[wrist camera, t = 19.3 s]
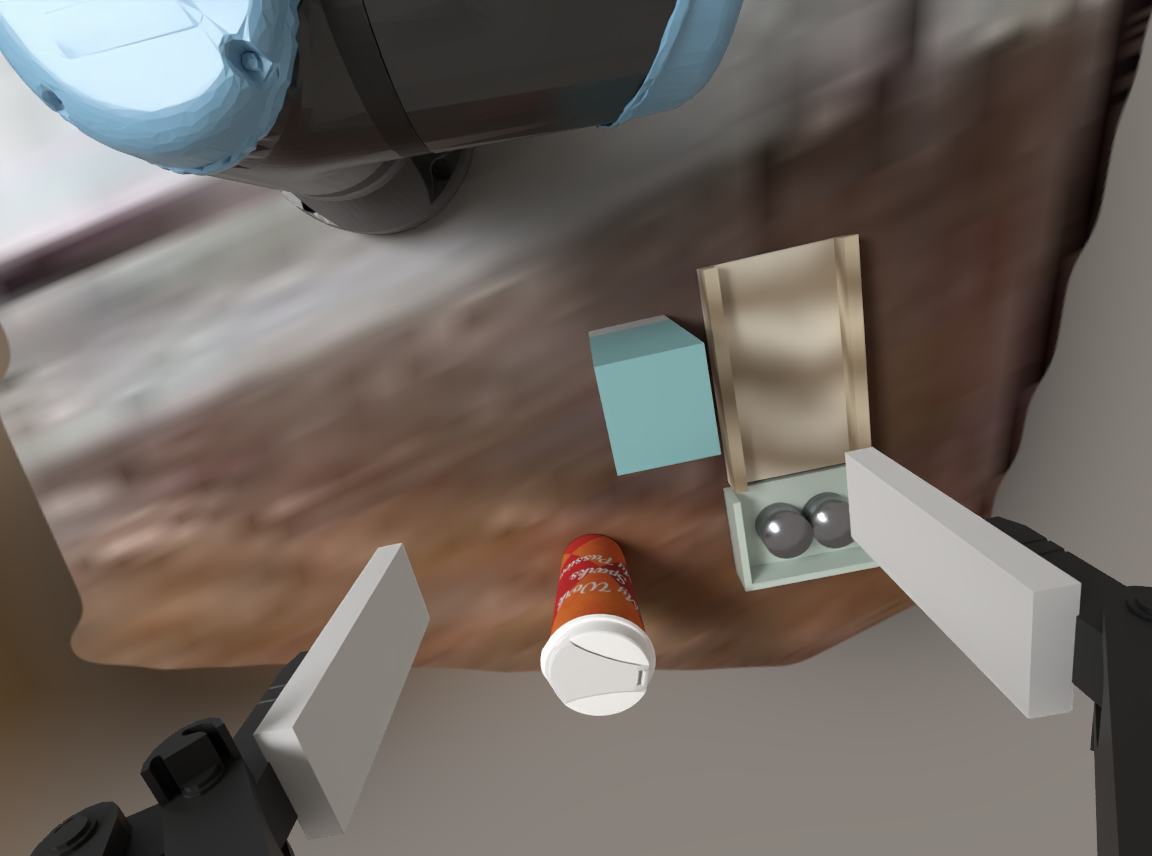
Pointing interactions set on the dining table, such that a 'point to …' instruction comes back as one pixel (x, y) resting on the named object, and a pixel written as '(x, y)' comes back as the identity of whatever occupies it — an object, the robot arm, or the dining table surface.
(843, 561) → the tray
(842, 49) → the dining table surface
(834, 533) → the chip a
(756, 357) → the slot board
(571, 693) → the paper cup
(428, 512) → the dining table surface
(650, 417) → the teal tall block
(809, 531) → the chip
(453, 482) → the dining table surface
